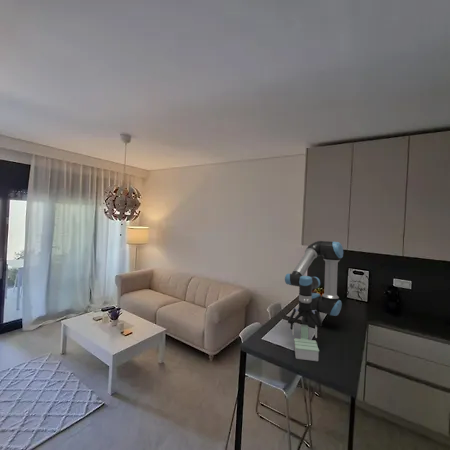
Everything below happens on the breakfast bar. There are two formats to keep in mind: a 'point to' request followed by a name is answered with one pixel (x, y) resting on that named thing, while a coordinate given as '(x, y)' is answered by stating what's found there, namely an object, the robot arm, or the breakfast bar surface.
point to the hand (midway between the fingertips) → (304, 335)
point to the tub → (306, 355)
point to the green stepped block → (305, 341)
